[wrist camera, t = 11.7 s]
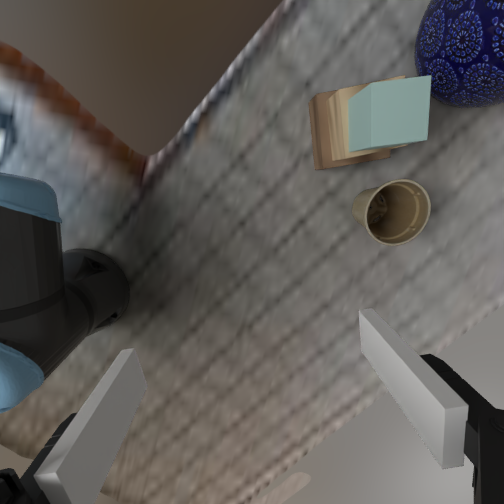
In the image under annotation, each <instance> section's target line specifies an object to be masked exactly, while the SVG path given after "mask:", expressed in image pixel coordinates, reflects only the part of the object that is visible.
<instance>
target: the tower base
mask: <svg viewBox="0 0 504 504" xmlns="http://www.w3.org/2000/svg"><path fill="white" fill-rule="evenodd" d="M337 91H338V90H335V91H330V92H324V93H319V94H316V95H315V96H314V97H313V99H312V100H311V101H310V102H309V113H310V123H311V134H312V145H313V155H314V166H315V170H319V169H326V168H332V167H338V166H344V165H350V164H355V163H361V162H367V161H373V160H378V159H384V158H390V149H389V150H384V151H379V152H375V153H370V154H365V155H360V156H356V157H351V158H346V159H341V160H335V161H333V160H332V151H331V142H330V132H329V123H328V114H327V105H326V101H327V100H328V99H329V98H330V97H331V96H332V95H333V94H334V93H336V92H337Z"/></svg>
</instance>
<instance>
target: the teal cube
mask: <svg viewBox="0 0 504 504" xmlns="http://www.w3.org/2000/svg"><path fill="white" fill-rule="evenodd" d="M430 89H431V75H429V76H421V77H413V78H405V79H397V80H389V81H381V82H373V83H370V84H369V85H368V86H366V87H365V88H364V89H362V90H361V91H359V92H358V93H357V94H355V95H354V96H353V97H351V98H350V99H349V100H348V135H349V152H355V151H363V150H371V149H379V148H387V147H394V146H400V145H405V144H410V143H415V142H420V141H425V140H427V137H428V121H429V105H430Z"/></svg>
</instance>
